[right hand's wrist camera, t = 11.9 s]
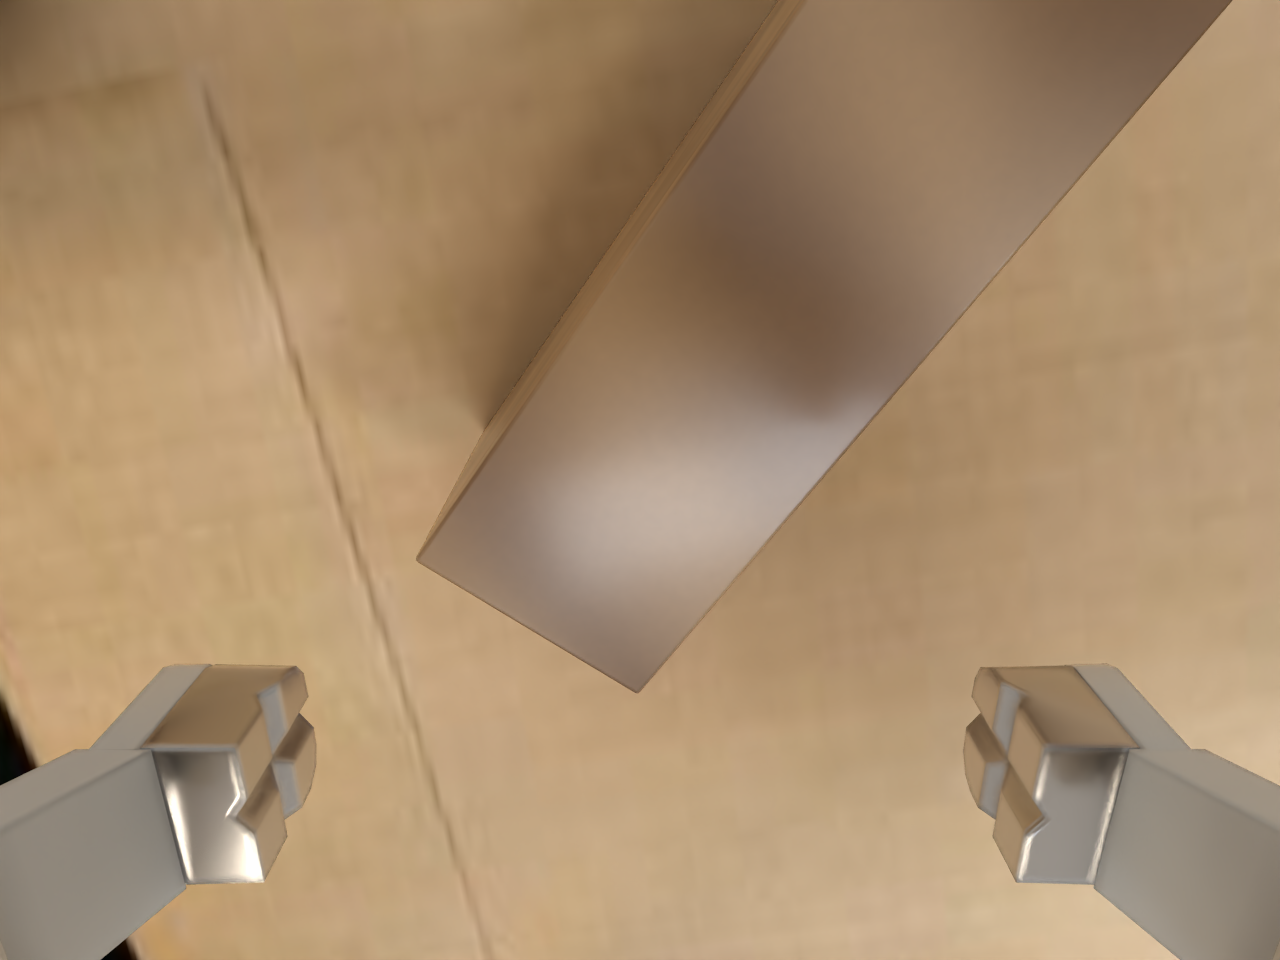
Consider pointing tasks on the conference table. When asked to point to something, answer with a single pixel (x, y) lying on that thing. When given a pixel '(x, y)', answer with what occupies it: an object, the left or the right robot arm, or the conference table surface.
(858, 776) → the conference table surface
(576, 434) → the cabinet
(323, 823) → the conference table surface
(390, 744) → the conference table surface
